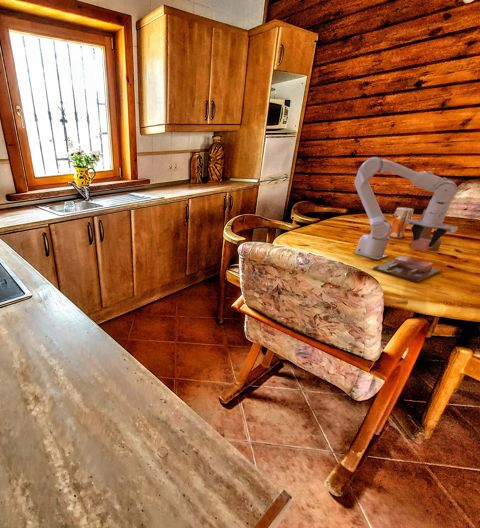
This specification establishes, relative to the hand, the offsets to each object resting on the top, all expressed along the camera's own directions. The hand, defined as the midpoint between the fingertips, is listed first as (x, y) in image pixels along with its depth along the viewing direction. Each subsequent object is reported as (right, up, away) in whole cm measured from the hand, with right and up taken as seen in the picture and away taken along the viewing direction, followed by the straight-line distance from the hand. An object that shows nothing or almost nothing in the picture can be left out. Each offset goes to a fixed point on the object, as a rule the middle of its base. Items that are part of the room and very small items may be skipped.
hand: (422, 244), depth 115 cm
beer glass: (+21, +7, +33) cm, 40 cm away
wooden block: (+19, -1, +17) cm, 26 cm away
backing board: (-10, -11, -3) cm, 15 cm away
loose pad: (0, -1, +1) cm, 1 cm away
